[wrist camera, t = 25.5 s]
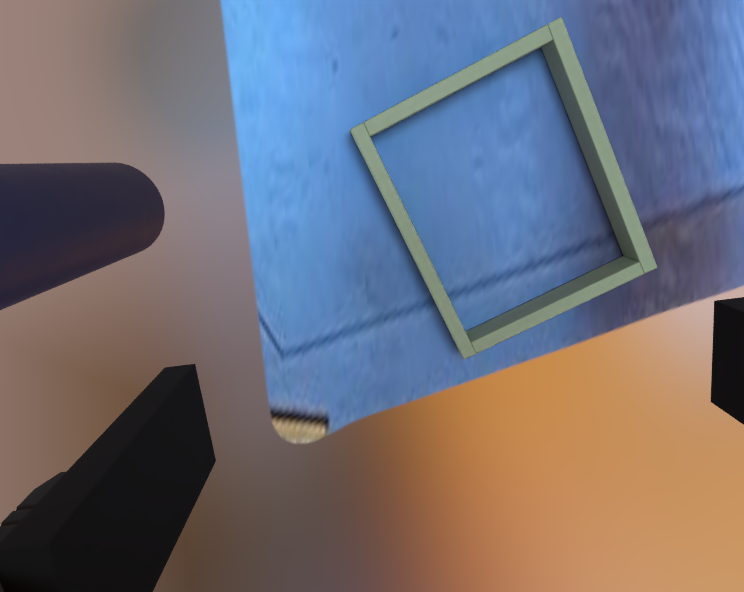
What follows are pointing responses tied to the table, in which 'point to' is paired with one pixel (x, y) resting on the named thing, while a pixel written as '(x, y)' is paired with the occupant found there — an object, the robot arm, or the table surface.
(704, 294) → the table surface
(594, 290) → the green rectangular frame
